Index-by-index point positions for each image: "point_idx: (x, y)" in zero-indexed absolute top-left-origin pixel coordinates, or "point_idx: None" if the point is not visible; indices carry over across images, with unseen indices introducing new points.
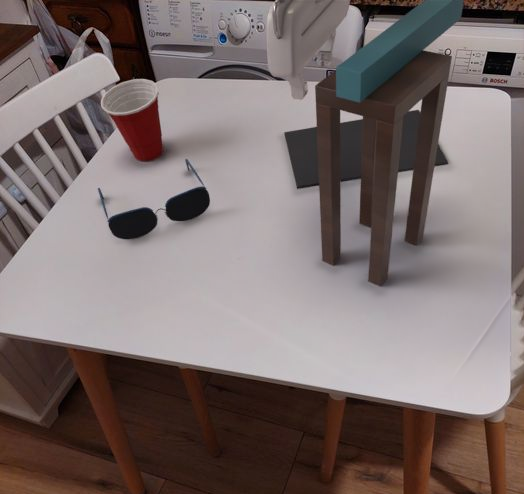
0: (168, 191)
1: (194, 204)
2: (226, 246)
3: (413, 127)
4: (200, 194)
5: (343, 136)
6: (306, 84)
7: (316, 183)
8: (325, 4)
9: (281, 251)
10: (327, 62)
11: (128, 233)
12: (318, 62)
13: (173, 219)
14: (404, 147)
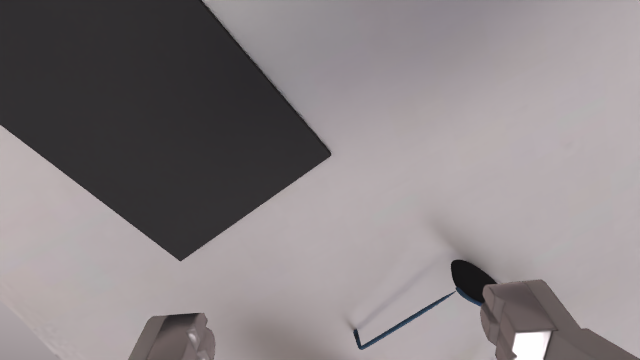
0: (416, 326)
1: (475, 281)
2: (536, 182)
3: None
4: (466, 286)
5: (118, 153)
6: (526, 324)
7: (304, 123)
8: None
9: (535, 80)
10: (196, 329)
11: None
12: (210, 357)
13: None
14: None
